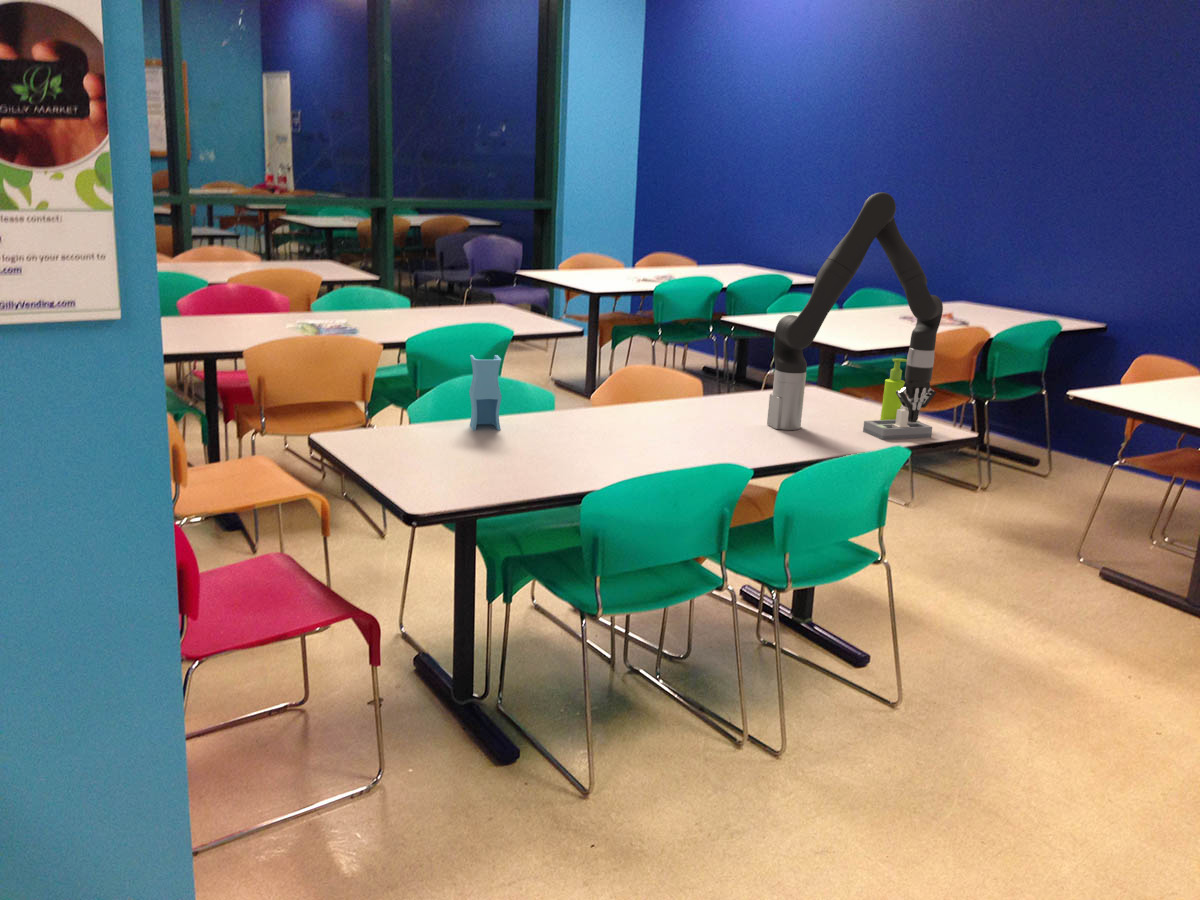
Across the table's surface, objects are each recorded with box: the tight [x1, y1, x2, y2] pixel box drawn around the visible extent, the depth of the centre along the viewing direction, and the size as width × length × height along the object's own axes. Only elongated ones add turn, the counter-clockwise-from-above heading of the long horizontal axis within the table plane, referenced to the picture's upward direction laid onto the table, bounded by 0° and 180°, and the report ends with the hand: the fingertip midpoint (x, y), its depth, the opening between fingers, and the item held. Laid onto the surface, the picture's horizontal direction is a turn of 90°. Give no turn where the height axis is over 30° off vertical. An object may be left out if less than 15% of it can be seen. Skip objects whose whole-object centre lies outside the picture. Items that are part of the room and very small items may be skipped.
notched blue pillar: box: [469, 354, 502, 432], centre depth 289 cm, size 8×8×20 cm
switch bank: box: [862, 419, 933, 441], centre depth 306 cm, size 17×10×3 cm, turn 110°
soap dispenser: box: [879, 358, 907, 420], centre depth 319 cm, size 6×7×20 cm
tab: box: [892, 409, 910, 428], centre depth 303 cm, size 4×3×7 cm
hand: (912, 421), depth 305 cm, fingers closed
